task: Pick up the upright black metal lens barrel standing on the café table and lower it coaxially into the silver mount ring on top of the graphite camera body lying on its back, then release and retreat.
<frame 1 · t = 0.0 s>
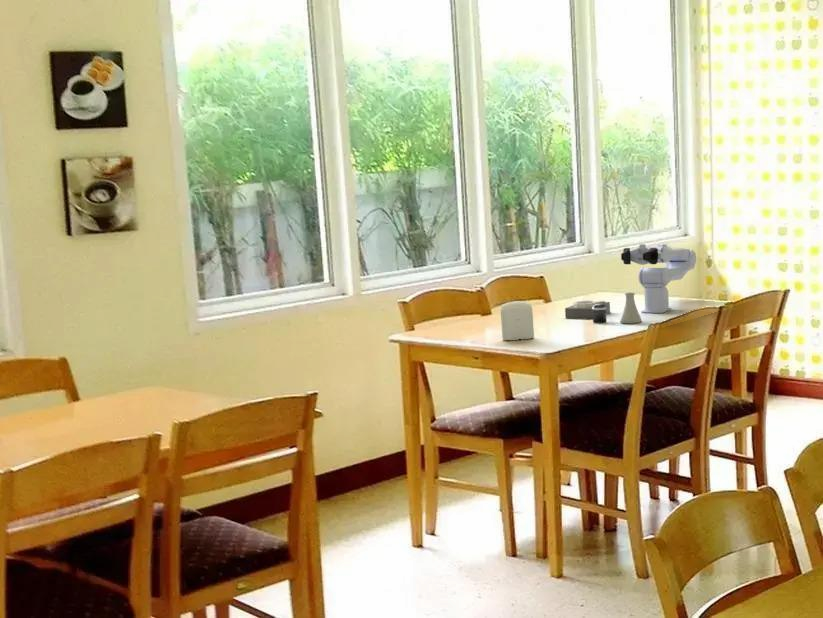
hand: (633, 256, 411), 22 cm above the table, tool horizontal, fingers open, 7 cm apart
camera body: (588, 315, 432), on the table
flask: (631, 323, 411), on the table
white rounded slab: (518, 340, 393), on the table
lens: (599, 322, 416), on the table
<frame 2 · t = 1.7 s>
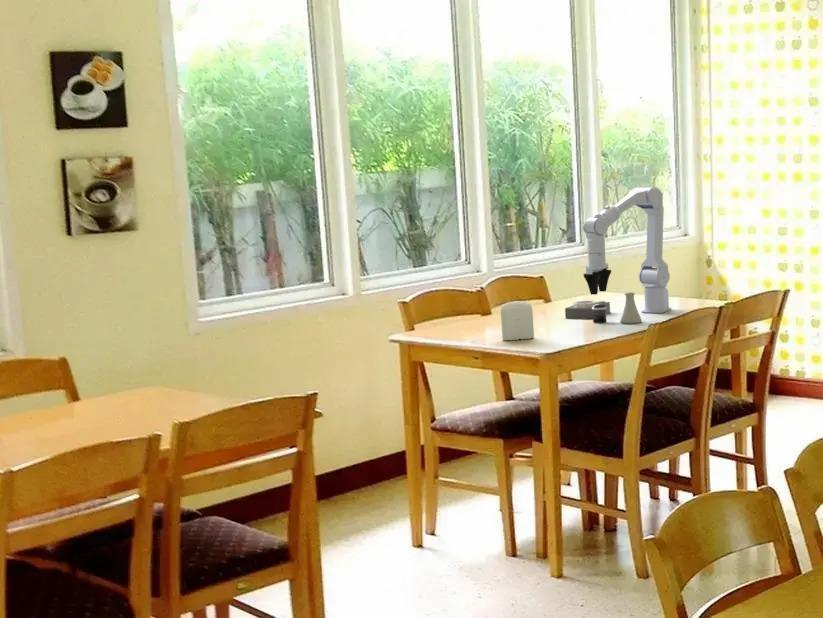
hand: (598, 292, 415), 10 cm above the table, tool pointing down, fingers open, 7 cm apart
nothing on the table moved.
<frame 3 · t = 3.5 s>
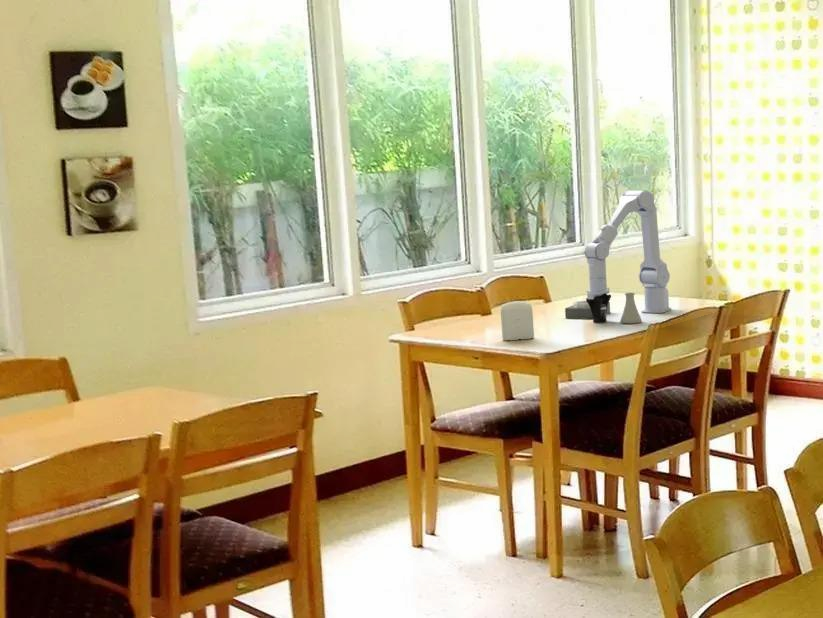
hand: (599, 317, 416), 2 cm above the table, tool pointing down, fingers closed on lens, 5 cm apart
lens: (599, 321, 416), on the table, touching gripper
everything else where it was.
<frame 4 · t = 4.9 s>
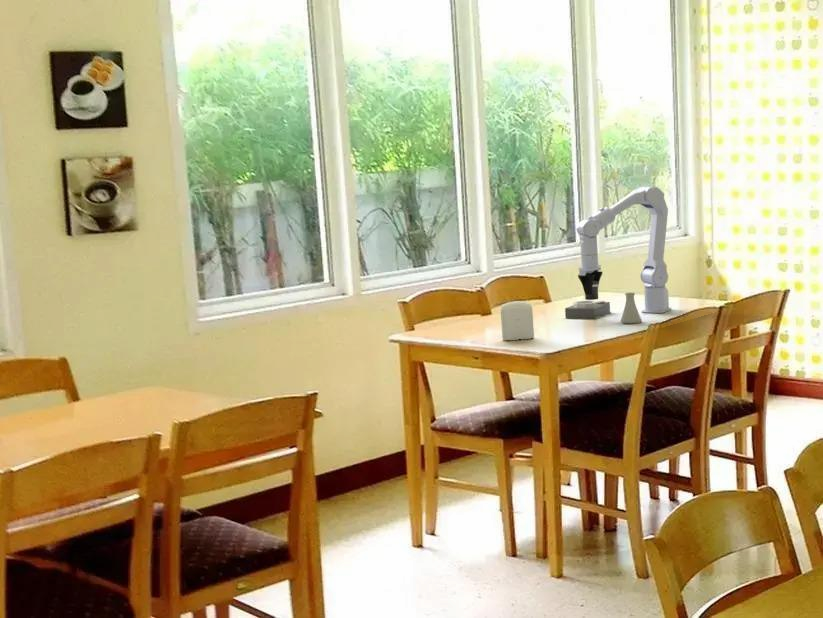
hand: (591, 293, 422), 9 cm above the table, tool pointing down, fingers closed on lens, 5 cm apart
lens: (591, 299, 422), point 7 cm above the table, touching gripper
everything else where it was.
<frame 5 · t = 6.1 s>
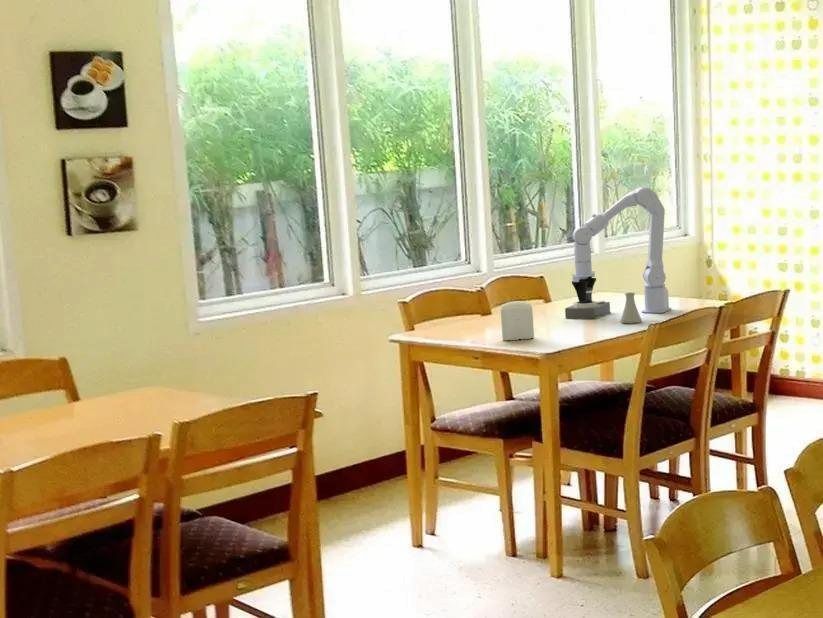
hand: (584, 299, 430), 6 cm above the table, tool pointing down, fingers closed on lens, 5 cm apart
lens: (585, 305, 430), point 4 cm above the table, touching gripper
everything else where it was.
when the fingers open (6 cm above the table, at t = 6.7 s): lens stays where it is, resting on camera body.
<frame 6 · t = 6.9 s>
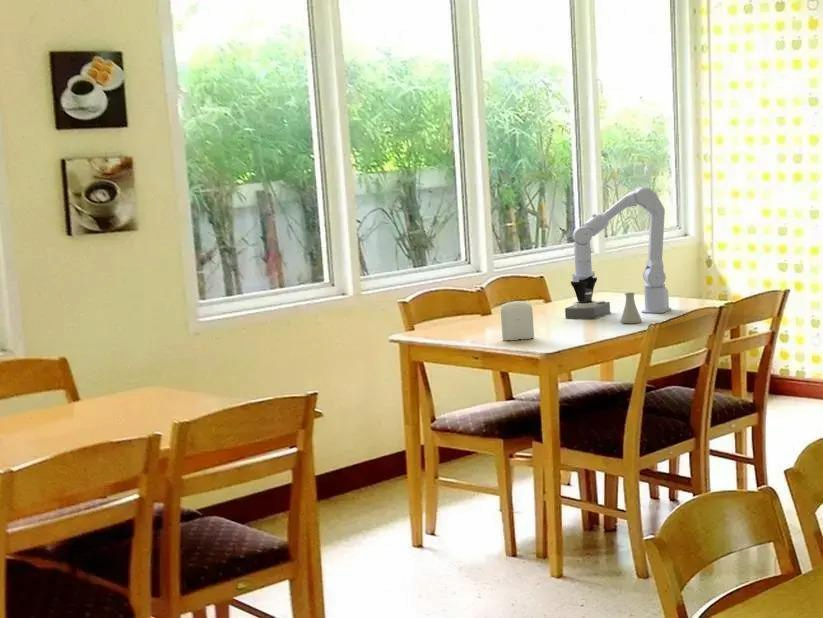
hand: (584, 299, 430), 6 cm above the table, tool pointing down, fingers open, 6 cm apart
lens: (585, 306, 430), point 4 cm above the table, touching camera body
everything else where it was.
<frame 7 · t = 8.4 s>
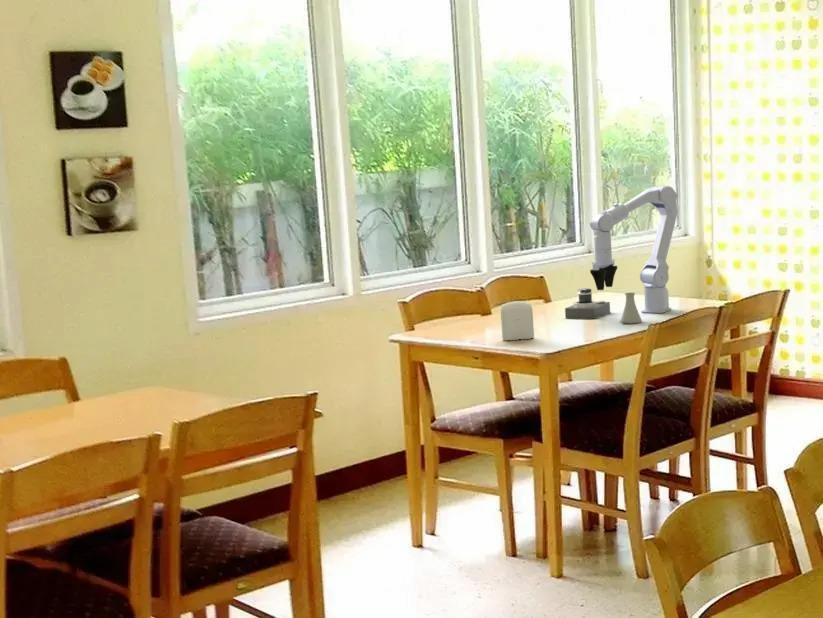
hand: (604, 288, 422), 10 cm above the table, tool pointing down, fingers open, 7 cm apart
nothing on the table moved.
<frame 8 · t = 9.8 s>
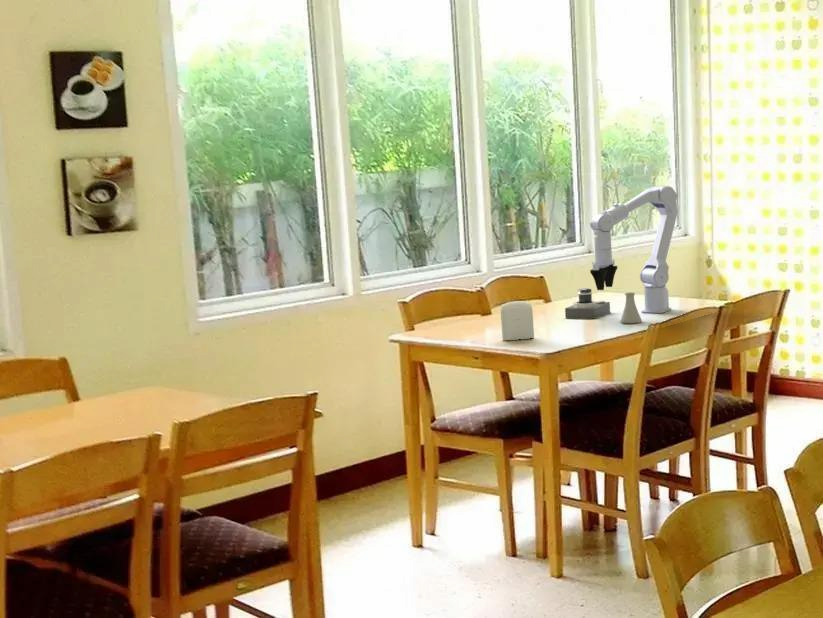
hand: (604, 288, 422), 10 cm above the table, tool pointing down, fingers open, 7 cm apart
nothing on the table moved.
at the end: lens 0.2 cm from the target spot on the camera body, point 3.5 cm above the camera body's base; lens tilted 0°; the gripper is holding nothing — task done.
